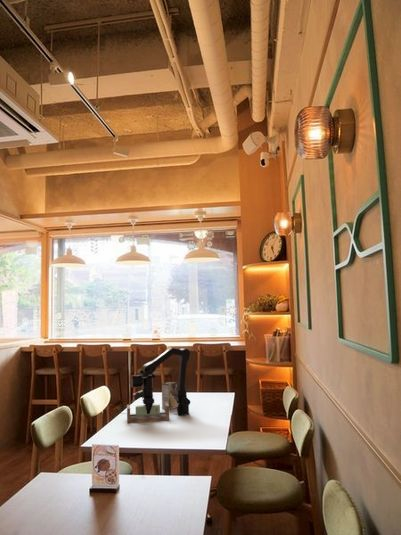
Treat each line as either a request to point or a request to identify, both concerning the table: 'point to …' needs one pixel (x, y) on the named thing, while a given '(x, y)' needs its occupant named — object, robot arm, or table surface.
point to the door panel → (143, 412)
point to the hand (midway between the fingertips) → (148, 413)
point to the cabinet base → (162, 417)
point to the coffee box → (169, 395)
